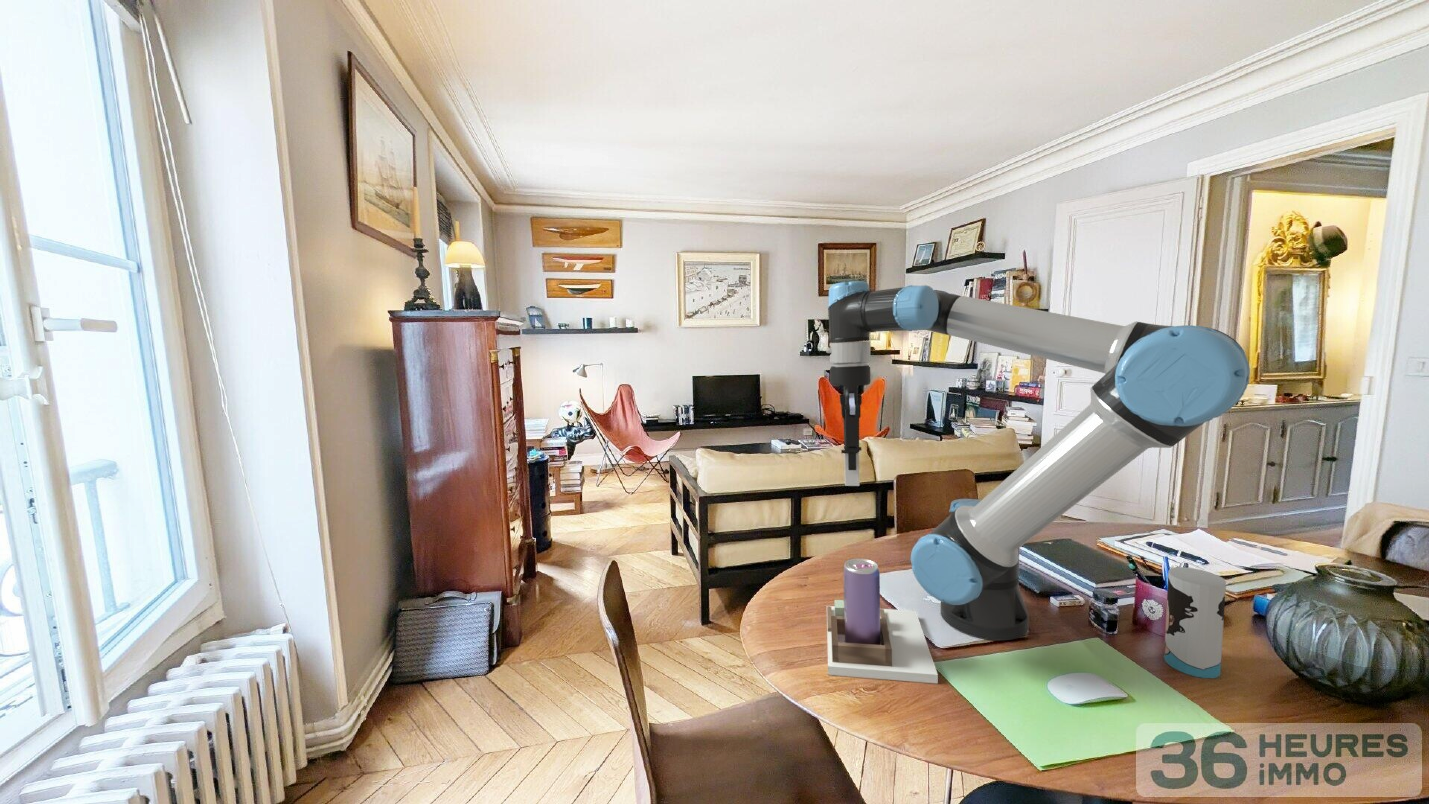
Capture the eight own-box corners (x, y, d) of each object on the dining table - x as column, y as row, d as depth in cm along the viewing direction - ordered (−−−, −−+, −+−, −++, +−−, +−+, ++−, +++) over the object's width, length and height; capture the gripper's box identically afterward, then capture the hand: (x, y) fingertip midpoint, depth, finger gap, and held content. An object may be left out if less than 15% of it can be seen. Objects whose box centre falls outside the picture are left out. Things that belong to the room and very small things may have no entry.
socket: (885, 634, 94) (884, 618, 94) (892, 666, 85) (891, 649, 85) (831, 631, 96) (830, 615, 96) (832, 662, 87) (832, 645, 87)
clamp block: (878, 622, 98) (878, 602, 98) (880, 630, 96) (879, 610, 95) (834, 619, 100) (834, 599, 100) (835, 628, 97) (834, 607, 97)
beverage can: (882, 659, 87) (881, 573, 86) (846, 656, 88) (844, 571, 87) (878, 639, 93) (877, 558, 91) (844, 637, 94) (842, 557, 92)
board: (915, 617, 102) (915, 607, 102) (937, 683, 83) (937, 670, 82) (826, 612, 106) (826, 602, 105) (828, 674, 86) (827, 662, 86)
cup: (1215, 660, 85) (1221, 572, 83) (1224, 683, 80) (1230, 590, 78) (1161, 648, 89) (1165, 564, 87) (1166, 669, 83) (1171, 580, 82)
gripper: (829, 363, 107) (831, 476, 110) (830, 367, 94) (833, 494, 97) (867, 362, 106) (868, 476, 108) (873, 365, 93) (875, 494, 95)
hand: (852, 484), depth 103 cm, fingers closed
